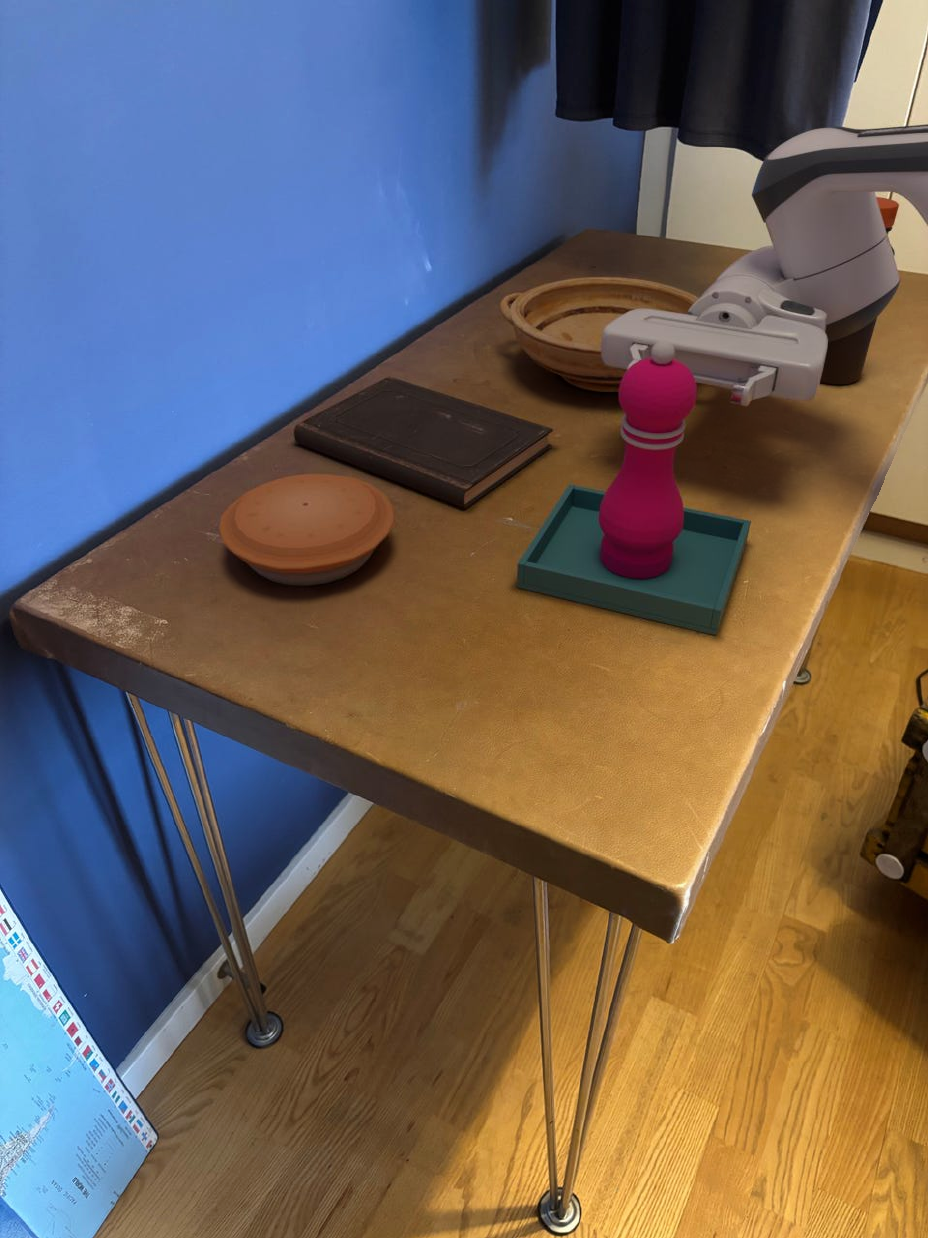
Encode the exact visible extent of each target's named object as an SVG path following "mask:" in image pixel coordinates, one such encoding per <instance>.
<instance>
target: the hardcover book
mask: <svg viewBox="0 0 928 1238" xmlns="http://www.w3.org/2000/svg"><path fill="white" fill-rule="evenodd" d="M553 431H554V430H553V428H552V427H548V426H545V425H542V424H539V423H536V422H532V421H529V420H526V419H523V418H520V417H517V416H514V415H511V414H508V413H505V412H501V411H498V410H495V409H492V408H489V407H486V406H484V405H483V406H482V405H479V404H476V403H474V402H471V401H467V400H465V399H461V398H458V397H454V396H452V395H449V394H445V393H443V392H440V391H436V390H433V389H431V388H430V389H429V388H426V387H424V386H420V385H418V384H415V383H412V382H408V381H405V380H402V379H398V378H395V377H393V376H386V377H384V378H383V379H380V380H379V381H377V382H375V383H373V384H371V385H369V386H367V387H366V388H364V389H362V390H359V391H358V392H356V393H354V394H352V395H350V396H349V397H346V398H343V399H342V400H340V401H339V402H337V403H335V404H332V405H331V406H329V407H327V408H325V409H323V410H322V411H319V412H318V413H315V414H314V415H312V416H310V417H308V418H306V419H304V420H302V421H300V422H298V423H297V424H296V425H295V426H294V429H293V437H294V441H295V443H297V444H299V445H302V446H304V447H306V448H309V449H312V450H314V451H317V452H320V453H322V454H325V455H327V456H330V457H332V458H334V459H338V460H340V461H343V462H345V463H348V464H350V465H353V466H355V467H357V468H360V469H362V470H365V471H368V472H370V473H374V474H376V475H378V476H381V477H384V478H386V479H389V480H391V481H394V482H396V483H399V484H401V485H404V486H406V487H409V488H412V489H414V490H417V491H419V492H422V493H425V494H426V495H429V496H432V497H435V498H437V499H440V500H442V501H444V502H448V503H450V504H452V505H455V506H458V507H460V508H463V509H468V508H469V507H471V506H472V505H474V504H475V503H477V502H478V501H479V500H481V499H482V498H484V497H485V496H486V495H488V494H489V493H490V492H492V491H493V490H495V489H496V488H497V487H499V486H500V485H502V484H503V483H504V482H505V481H507V480H509V479H510V478H511V477H513V476H514V475H515V474H516V473H518V472H520V471H521V470H522V469H524V468H525V467H527V466H528V465H530V464H531V463H533V461H535V460H536V459H538V458H539V457H540V456H542V455H543V454H545V453H546V452H548V450H550V449H552V448H553V447H552V446H553V445H552V444H549V435H550V434H551V433H553Z"/></svg>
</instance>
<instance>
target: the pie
mask: <svg viewBox="0 0 928 1238" xmlns="http://www.w3.org/2000/svg"><path fill="white" fill-rule="evenodd" d="M390 501H391V500H389V498H388V496H387V495H386V494H385V493H383V492H382V491H381V490H379V489H378V488H377V487H375V486H374V485H372V484H370V483H368V482H366V481H364V480H362V479H359V478H356V477H353V476H346V475H336V474H329V473H304V474H295V475H294V474H293V475H289V476H285V477H280V478H277V479H274V480H271V481H267V482H265V483H262V484H260V485H258V486H256V487H254V488H252V489H250V490H248V491H246V492H244V493H243V494H242V495H241V496H239V497H238V498H237V499H235V500H234V501H233V502H232V503H231V504H230V505H229V506H228V507H227V509H225V511H224V512H223V513H222V515H221V516H220V520H219V525H218V526H219V527H218V532H219V536H220V538H221V541H222V544H223V545H224V546H225V547H226V548H227V549H228V550H229V551H230V552H231V553H232V554H233V555H235V556H236V557H237V558H238V559H240V560H241V561H243V562H245V563H246V564H247V565H248V566H249V567H250V568H252V569H253V570H254V571H255V572H256V573H257V574H258V575H259V576H260V577H263V578H265V579H267V580H269V581H272V582H274V583H277V584H282V585H287V586H296V587H299V586H301V587H302V586H303V587H310V586H317V585H324V584H328V583H332V582H334V581H339V580H341V579H344V578H346V577H348V576H349V575H352V574H353V573H355V572H357V571H358V570H359V569H360V568H361V567H362V566H363V565H364V564H365V563H366V562H367V561H369V559H370V558H371V556H372V554H373V553H374V551H375V550H376V548H377V546H379V544H380V543H382V542H383V540H385V539H386V538H387V536H388V535H389V533H390V532H391V530H392V528H393V526H394V523H395V521H396V518H395V511H394V509H395V508H394V506H393V505H392V503H391V502H390Z"/></svg>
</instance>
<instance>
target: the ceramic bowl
mask: <svg viewBox="0 0 928 1238" xmlns="http://www.w3.org/2000/svg"><path fill="white" fill-rule="evenodd" d="M699 298H700V297H699V296H696V295H694V294H692V293H690V292H688V291H686V290H684V289H681V288H678V287H674V286H671V285H668V284H665V283H659V282H655V281H652V280H644V279H637V278H627V277H613V276H592V277H591V276H590V277H589V276H588V277H577V278H569V279H568V278H567V279H563V280H557V281H552V282H549V283H544V284H541V285H538V286H535V287H533V288H530V289H528V290H527V291H524V292H523V293H522V292H515V293H514V292H513V293H511V294H508V295H505V296H504V297H503V298H502V300H501V301H500V303H499V311H500V314H501V315H502V316H503V318H504V319H505V320H506V321H507V322H508V323H509V324H510V325H512V326H513V329H514V332H515V337H516V339H517V341H518V344H519V346H521V348H522V349H523V351H524V352H525V354H526V355H527V356H528V357H529V358H530V359H531V360H532V361H534V363H536V364H537V365H539V366H540V367H542V368H544V370H545V369H546V370H547V371H548V372H551V373H554V374H556V375H559V376H561V377H562V378H563V379H564V381H566V382H567V383H569V384H570V385H573V386H575V387H577V388H580V389H583V390H587V391H592V392H598V393H619V387H620V383H621V380H622V378H623V376H624V374H625V372H626V371H627V370H626V369H621V368H615V367H610V366H607V365H606V364H605V363H604V362H603V360H602V358H601V343H602V335H603V330H604V328H605V327H606V326H607V325H608V324H609V323H611V322H612V321H614V320H615V319H617V318H618V317H620V316H621V315H623V314H625V313H627V312H629V311H631V310H635V309H642V308H645V309H656V310H662V311H668V312H675V313H681V314H687V312H688V310H689V309H690V308H691V306H692V305H693V304H694V303H695V302H696V301H697V300H698V299H699ZM509 305H510V307H509Z"/></svg>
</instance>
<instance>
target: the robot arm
mask: <svg viewBox="0 0 928 1238" xmlns="http://www.w3.org/2000/svg"><path fill="white" fill-rule="evenodd" d="M755 179H756V180H755V182H754V185H753V189H752V191H751V197H752V199H753V201H754V204H755V206H756V208H757V211H758V213H759V215H760V218H761V221H762V222H763V223H764V224H765V227H766V229H767V232H768V235H769V238H770V241H771V244H772V245H766V246H761V247H759V248H756V249H754V250H752V251H750V252H747V253H746V254H745V255H743V256H741V257H740V258H738V259H736V260H735V261H734V262H732V264H730V265H729V266H728V267H726V269H725V270H724V271H722V273H721V274H720V275H719V276H718V278H716V280H715V282H714V283H712V284H711V285H710V286H709V287H708V288H707V289H706V290H705V291H704V292H703V293H702V294H701V295H700V296H699V297H698V298H699V299H698V300H697V301H696V302H695V303H694V304H693V305H692V306H691V308H690V309H689V310H688V312H687V314H681V313H675V312H668V311H662V310H656V309H645V308H642V309H635V310H631V311H629V312H627V313H625V314H623V315H621V316H620V317H618V318H617V319H615V320H614V321H612V322H611V323H609V324H608V325H607V326H606V327H605V328H604V330H603V335H602V343H601V358H602V360H603V362H604V363H605V364H606V365H607V366H610V367H615V368H621V369H626V370H628V369H629V368H630V367H631V366H632V365H633V364H635V363H636V362H638V361H640V360H642V359H645V358H650V357H651V349H652V347H653V346H654V344H655V343H657V342H659V341H664V340H665V341H668V342H670V343H671V344H672V345H673V347H674V350H675V354H674V357H673V359H675V360H677V361H679V362H681V363H683V364H684V365H686V366H687V367H688V368H689V369H690V371H691V372H692V374H693V376H694V378H695V381H696V384H697V383H698V384H703V385H707V386H713V387H718V388H724V389H730V390H731V394H732V395H731V397H730V399H729V404H734V405H739V406H742V407H743V406H744V407H748V406H749V405H750V403H751V402H752V401H754V400H759V399H763V398H765V397H772V398H777V399H782V400H783V399H784V400H789V401H793V402H799V403H802V402H809V401H812V400H814V399H815V398H816V396H817V394H818V391H819V387H820V383H821V382H820V379H821V375H822V371H823V367H824V362H825V357H826V352H827V346H828V342H830V341H833V340H837V339H839V338H842V337H845V336H847V335H850V334H852V333H854V332H856V331H858V330H860V329H862V328H863V327H865V326H866V325H868V324H869V323H870V322H872V321H873V320H874V319H875V318H877V319H878V317H879V316H880V315H881V314H882V312H883V311H884V310H885V309H886V307H887V306H888V305H889V303H890V302H891V301H892V299H893V298H894V296H895V294H896V293H897V291H898V289H899V286H900V283H901V278H900V275H899V270H898V266H897V261H896V259H895V255H893V251H892V248H891V246H892V244H891V241H890V238H889V233H888V234H887V233H886V229H885V226H884V222H883V219H882V216H881V212H880V209H879V205H878V202H877V198H876V197H877V195H876V193H881V192H882V193H887V192H888V193H894V194H898V195H899V196H901V197H903V198H904V199H905V200H906V201H908V202H909V203H910V204H911V206H913V207H914V209H915V210H916V211H917V212H918V214H919V215H920V217H921V218H922V219H923V222H924V223H925V224H926V227H928V124H927V123H926V124H915V125H903V126H890V127H879V128H877V127H876V128H865V129H864V128H863V129H861V128H851V127H846V126H830V127H822V128H814V129H810V130H808V131H805V132H804V131H803V132H802V133H800V134H797V135H795V136H793V137H791V138H789V139H787V140H786V141H784V142H783V143H781V144H780V145H778V146H777V147H776V148H774V149H773V151H771V152H769V153H768V154H767V155H766V156H765V157H764V160H763V161H762V164H761V166H760V167H759V170H758V173H757V176H756V178H755ZM890 244H891V245H890Z"/></svg>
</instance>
